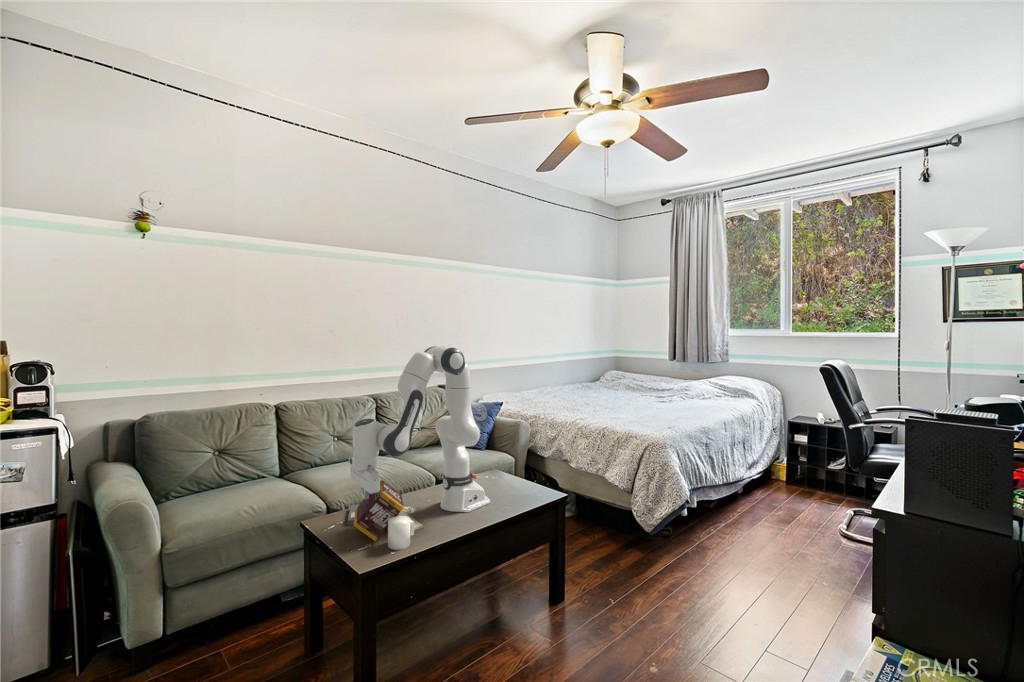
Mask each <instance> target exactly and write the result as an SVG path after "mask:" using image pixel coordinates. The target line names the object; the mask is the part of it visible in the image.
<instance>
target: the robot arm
mask: <svg viewBox="0 0 1024 682" xmlns="http://www.w3.org/2000/svg"><path fill="white" fill-rule="evenodd" d="M435 372H436V373H444V376H445V396H444V397H445V399H444V403H445V407H446V409H447V410H448V414H449V415H443V416H442V417H440V418H438V420H437V421H436V423H435V432H436V434H437V436H438V438H439V441H440V445H441V447H442V453H443V460H444V461H443V463H444V464H443V466H444V467H443V468H444V469H443V475H442V486H443V490H442V497H441V502H440V504H439V507H440V508H441V510H444V511H448V512H453V513H455V512H457V513H458V512H460V513H461V512H462V513H470V512H472V511H475V510H477V509H479V508H481V507H484V506H486V505H489V504H490V503H491V500H490V498H489V497H488V496H487V495H486V492H485V490H484V488H483V487H482V486H481V485H480V484H479V483H477V482H476V481H474V480H476V479H477V478H478V475H477V474H476V473H472V472H470V454H469V452H468V451H467V449H466V447H472V446H475V445H476V444H477V443H478V442H479V440H480V437H481V430H480V428H479V426H478V425H477V423H476V420H475V418H474V414H473V411H472V403H471V402H472V401H471V400H472V398H471V394H472V391H471V388H472V380H471V379H472V378H471V371H470V367H469V365H468V364H467V363H466V361H465V356H464V354H463V352H462V351H461V350H460V349H458V348H456V347H451V346H445V345H444V346H436V345H434V346H431V347H428V348H426V349H425V350H424V351H418V352H415V353H414V354H413V355H412V356H411V358H410V359H409V361H408V362H407V363H406V365H405V367H404V369H403V370H402V373H401V374H400V376H399V380H398V384H397V390H398V393H399V394H400V396H401V397H402V399H403V402H404V404H403V409H402V412H401V414H400V418H399V420H398V423H397V425H396V426H393V425H390V424H386V423H382V422H379V421H376V420H375V418H364V419H360V420H358V421H356V423H355V424H354V426H353V431H352V447H353V452H352V456H351V457H349V458H348V463H349V465H350V467H349V468H350V469H349V470H350V472H349V473H350V478H351V480H352V481H353V482H354V483H355V484H356V485H358V486H359V489H360V492H361V497H362V498H363V500H364V499H368V498H369V493H370V494H373V493H377V492H379V491H380V481H381V479H380V478H381V477H380V475H379V474H380V473H379V472H378V471H377V470H376V468H377V466H378V451H381V450H382V451H384V452H386V453H387V454H388V455H390V456H391V457H394V458H397V457H401V456H403V455H405V454H406V453H407V452H408V451H409V449H410V447H411V445H412V437H413V432H414V428H415V426H416V423H417V421H418V420H417V419H418V417H419V415H420V411H421V409H422V406H423V402H424V395H425V391H426V388H427V386H428V384H429V381H430V379H431V377H432V375H433V374H434V373H435ZM473 479H474V480H473Z"/></svg>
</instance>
